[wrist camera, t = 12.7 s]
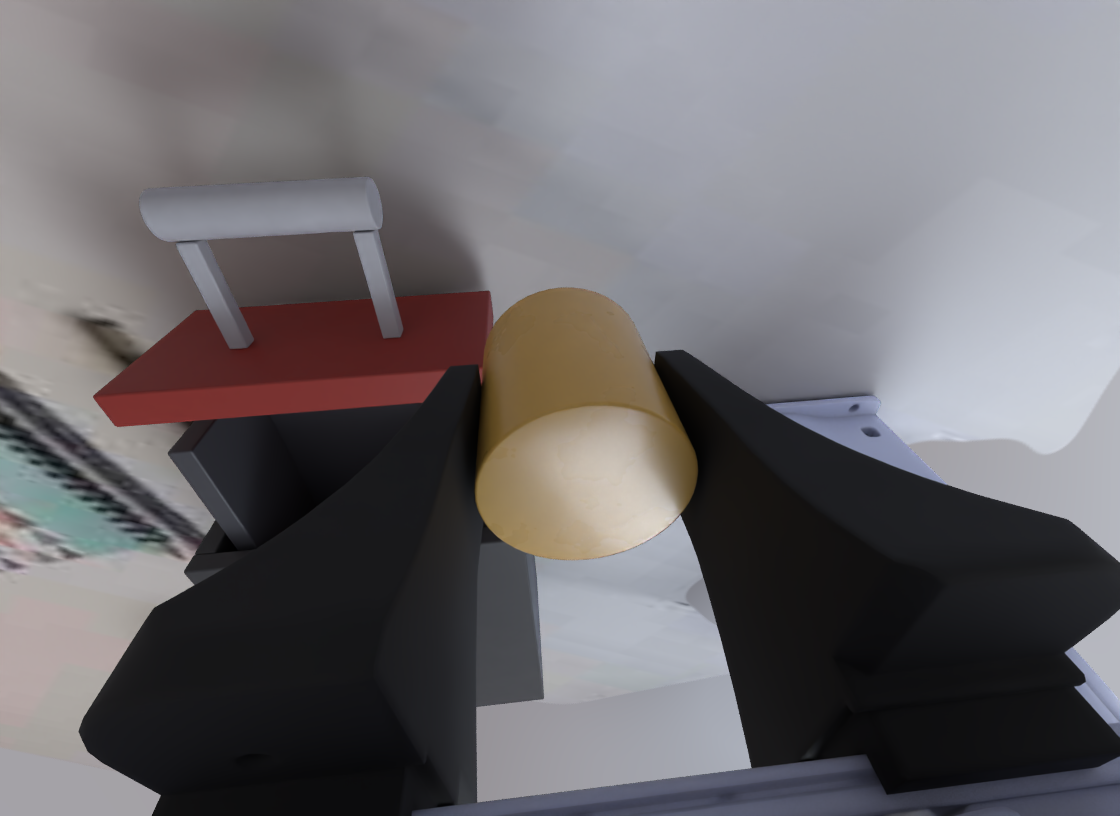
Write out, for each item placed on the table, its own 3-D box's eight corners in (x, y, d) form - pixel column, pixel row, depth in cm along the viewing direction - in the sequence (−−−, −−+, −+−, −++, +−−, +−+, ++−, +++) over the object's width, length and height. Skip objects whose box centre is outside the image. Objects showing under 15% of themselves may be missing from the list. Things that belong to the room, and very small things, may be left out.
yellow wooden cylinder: (647, 281, 11) (717, 393, 7) (635, 417, 13) (683, 551, 10) (473, 292, 11) (457, 413, 7) (492, 428, 13) (488, 570, 9)
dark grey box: (265, 438, 23) (182, 572, 17) (519, 417, 24) (524, 539, 18) (353, 599, 32) (317, 725, 26) (536, 580, 33) (544, 699, 27)
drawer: (119, 170, 15) (-48, 221, 11) (472, 152, 16) (459, 192, 11) (315, 531, 26) (275, 632, 22) (518, 512, 27) (521, 606, 22)
